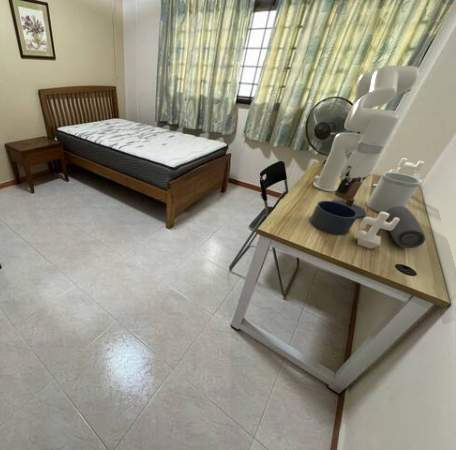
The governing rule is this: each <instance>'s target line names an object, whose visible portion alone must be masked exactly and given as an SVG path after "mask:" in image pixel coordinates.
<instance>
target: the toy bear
mask: <svg viewBox="0 0 456 450" xmlns="http://www.w3.org/2000/svg"><path fill="white" fill-rule="evenodd" d="M348 176H349V175H348ZM360 178H361V177H358V178H353V179H352V181H351V182H350V183H349V187H348V189H347V191H346V193H345V194H342V193H340V192H338V188H339V186H340V184H341V181H340V182H339V184H338V186H337V190H336V191H335V193H334V196H336V197H338V198H340V199H342V200H343V201H347V200H348V199H354V198H355V196H356V194H357V193H358V191H359V189H360V188H361V185H362V184H363V181H362V182H360V181H358V180H359V179H360ZM348 179H349V178H347V181H348Z"/></svg>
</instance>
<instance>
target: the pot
mask: <svg viewBox="0 0 456 450" xmlns="http://www.w3.org/2000/svg"><path fill="white" fill-rule="evenodd" d="M357 216H358V213H357V212H356V211H355V210H354V209H353V208H351V207H349V206H347V205H344V204H341V203H338V202H333V200H321V201H318V202H317V204H316V206H315V208H314V210H313V213H312V214H311V217H310V219H309V221H310V224H311V226H313V227H314V228H316V229H318V230H320V231H321V232H324V233H326V234H331V235H337V236H339V235H340V236H342V235H346V234H348V233H349V232H350V230H351V228H352V226H354V223H355V221H356V220H357V218H358V217H357Z"/></svg>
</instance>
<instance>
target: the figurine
mask: <svg viewBox="0 0 456 450" xmlns="http://www.w3.org/2000/svg"><path fill="white" fill-rule="evenodd" d="M388 217H389V214H388V213H386V212H378V215H377V218H374V217H370V216H364V218H363V219H362V220H361V222H360V224H359V225H358V228H359V230H358V233H357V245H358V246H361V247H364V248H367V249H370V250H371V249H374V248H376V247H379V246H381V240H382V239H381V238H382V237H381V235H377V233H378V232H379V231H380V229H383V230H386V231H388V232H390V230H393V229H394V227H395V226H396V225H397V223H398V222H399V220H400V219H399V218H397V217H396V218H394V219H393V221H392V222H391V223H388V222H386V219H387V218H388ZM367 225H369V226H371V227H370V228H369V230H368V232H367V231H364V230H363V229H365V227H366V226H367Z"/></svg>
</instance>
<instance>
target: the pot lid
mask: <svg viewBox="0 0 456 450" xmlns="http://www.w3.org/2000/svg"><path fill="white" fill-rule="evenodd" d="M332 201H333V202H338V203H341V204H344V205H347V206H349V207H351V208H353V209H354V210H355V211H356V212H357V213H358V216H357V218H362V217H366V215H367V212H366V210H365V209H364V208H363V207H361V206H359V205H357V204H355V203H354V202H355V201H356V199H354V198H353V199H348V200H339V199H336V200H333V199H332Z"/></svg>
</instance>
